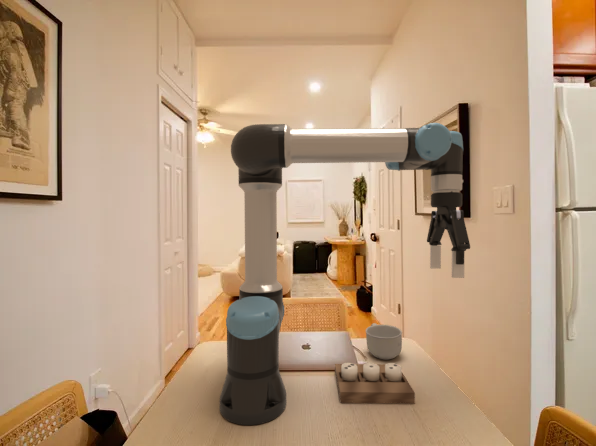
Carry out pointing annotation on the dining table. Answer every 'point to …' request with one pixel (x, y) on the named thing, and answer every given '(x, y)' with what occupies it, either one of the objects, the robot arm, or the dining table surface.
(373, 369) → the button one
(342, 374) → the button three
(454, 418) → the dining table surface
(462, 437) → the dining table surface
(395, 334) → the teacup
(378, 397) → the panel
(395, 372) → the button two
